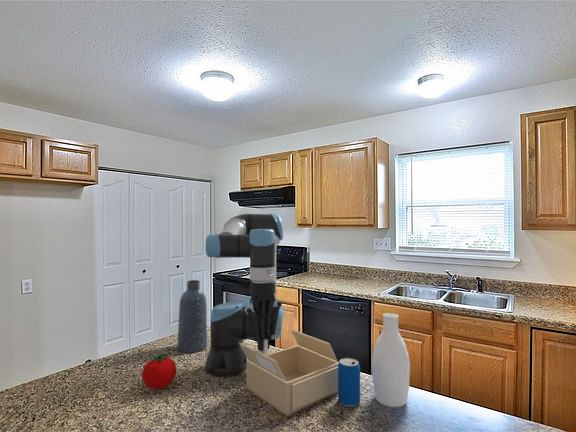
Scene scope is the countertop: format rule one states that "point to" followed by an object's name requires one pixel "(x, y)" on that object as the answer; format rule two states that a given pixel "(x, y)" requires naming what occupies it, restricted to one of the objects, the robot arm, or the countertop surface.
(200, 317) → the vase
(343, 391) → the beverage can
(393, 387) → the bottle
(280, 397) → the carton
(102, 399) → the countertop surface
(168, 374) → the tomato
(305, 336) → the flap
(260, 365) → the flap
